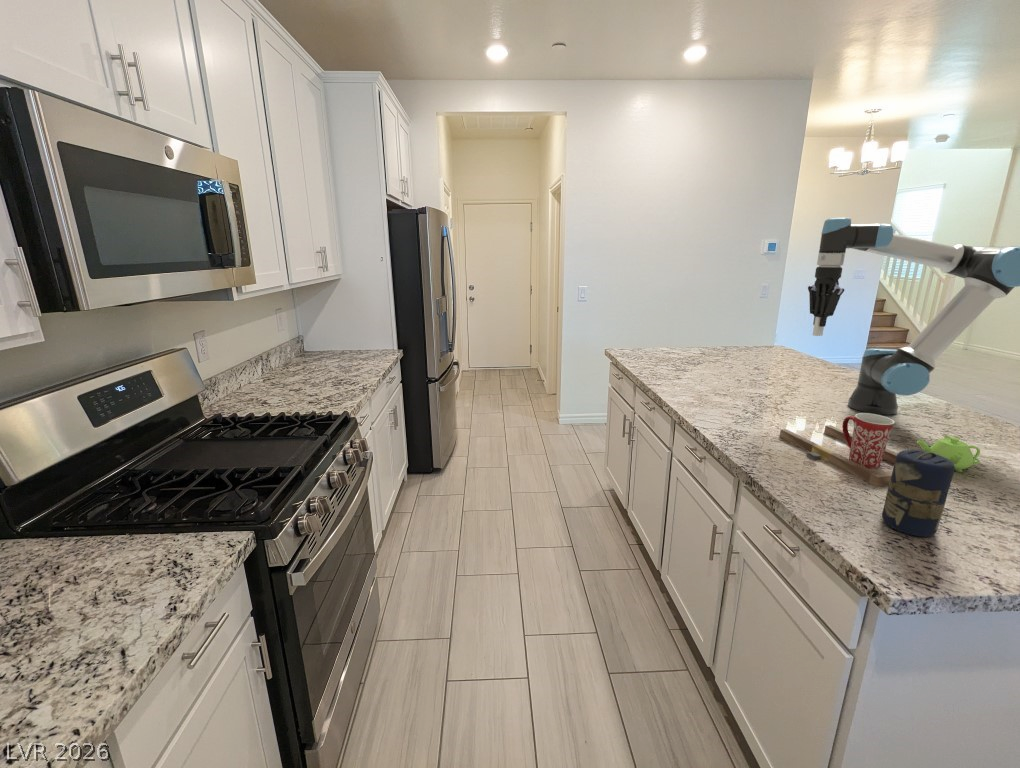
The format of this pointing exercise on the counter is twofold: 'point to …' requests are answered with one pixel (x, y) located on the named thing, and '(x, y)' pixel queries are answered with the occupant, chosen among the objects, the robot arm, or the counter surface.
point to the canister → (917, 492)
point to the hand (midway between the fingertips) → (817, 335)
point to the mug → (868, 438)
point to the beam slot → (856, 469)
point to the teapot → (953, 452)
